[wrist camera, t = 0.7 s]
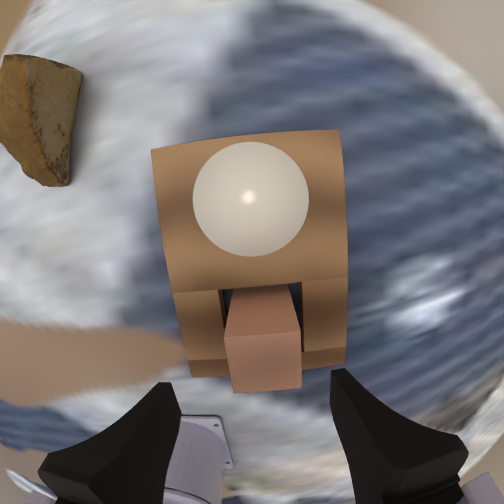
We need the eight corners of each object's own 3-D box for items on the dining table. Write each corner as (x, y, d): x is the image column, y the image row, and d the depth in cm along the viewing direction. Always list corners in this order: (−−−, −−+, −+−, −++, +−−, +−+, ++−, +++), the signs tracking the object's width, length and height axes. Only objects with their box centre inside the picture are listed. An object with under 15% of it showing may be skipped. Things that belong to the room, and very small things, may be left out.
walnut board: (338, 350, 23) (344, 363, 21) (196, 362, 23) (192, 377, 22) (331, 133, 19) (339, 129, 17) (160, 151, 19) (150, 149, 17)
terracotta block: (290, 330, 23) (301, 387, 16) (239, 335, 23) (233, 393, 16) (287, 283, 22) (300, 330, 15) (233, 288, 22) (223, 337, 15)
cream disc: (310, 248, 19) (312, 251, 18) (202, 259, 19) (200, 261, 19) (301, 138, 17) (303, 137, 17) (188, 150, 17) (186, 149, 17)
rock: (74, 218, 18) (124, 83, 15) (-34, 213, 11) (2, 51, 8) (54, 162, 23) (90, 67, 20) (-21, 154, 16) (12, 47, 13)
